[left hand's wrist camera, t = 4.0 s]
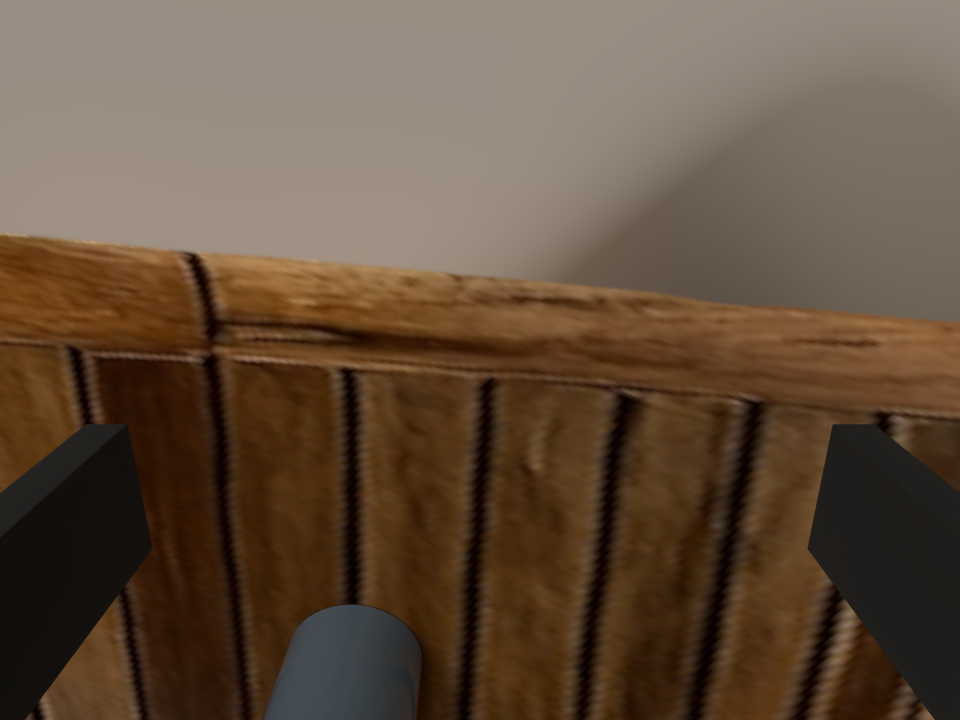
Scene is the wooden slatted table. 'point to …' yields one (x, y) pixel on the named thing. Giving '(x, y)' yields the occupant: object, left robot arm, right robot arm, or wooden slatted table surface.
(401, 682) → the jar
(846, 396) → the wooden slatted table surface
